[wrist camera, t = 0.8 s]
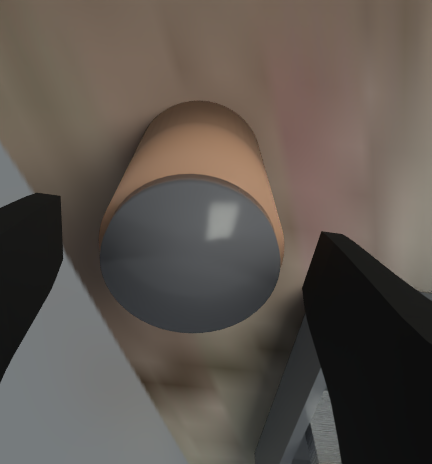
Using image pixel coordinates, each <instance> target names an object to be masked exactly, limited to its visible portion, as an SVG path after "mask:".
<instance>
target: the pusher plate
mask: <svg viewBox="0 0 432 464" xmlns="http://www.w3.org/2000/svg"><path fill="white" fill-rule="evenodd" d="M305 437H306V441H307V446H308V451H309V456H310V461H311V464H342V463H341V457H340V451H339V444H338V438H337V433H336V427H335V422H334V417H333V411H332V406H331V401H330V397H329V393H328V391H326V390H324V392H323V394H322V396H321V399H320V401H319V403H318V405H317V407H316V410H315V412H314V414H313V416H312V418H311V421H310V423H309V425H308V427H307V429H306V432H305Z"/></svg>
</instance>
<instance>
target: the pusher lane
mask: <svg viewBox="0 0 432 464" xmlns="http://www.w3.org/2000/svg"><path fill="white" fill-rule="evenodd" d="M420 293H421V294H423V295H424V296H425V297H427V298H428V299H430V300H431V301H432V293H425V292H420ZM324 390H326V391H328V389H327V386H326V382H325V379H324V376H323V373H322V369H321V366H320V363H319V359H318V356H317V353H316V349H315V346H314V343H313V339H312V336H311V333H310V329H309V326H308V322H307V319H306V313H305V316H304V318H303V321H302V324H301V327H300V329H299V332H298V335H297V338H296V341H295V343H294V346H293V349H292V352H291V354H290V357H289V360H288V363H287V365H286V368H285V371H284V374H283V376H282V379H281V382H280V385H279V387H278V390H277V393H276V396H275V398H274V401H273V404H272V407H271V409H270V412H269V415H268V418H267V420H266V423H265V426H264V429H263V431H262V434H261V437H260V440H259V443H258V445H257V448H256V451H255V464H311V461H310V456H309V451H308V446H307V441H306V437H305V432H306V429H307V427H308V425H309V423H310V421H311V418H312V416H313V414H314V412H315V410H316V407H317V405H318V403H319V401H320V399H321V396H322V394H323V392H324Z"/></svg>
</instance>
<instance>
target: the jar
mask: <svg viewBox="0 0 432 464" xmlns="http://www.w3.org/2000/svg"><path fill="white" fill-rule="evenodd" d="M99 252H100V266H101V271H102V275H103V278H104V280H105V283H106V285H107V287H108V289H109V290H110V292H111V294H112V295H113V296H114V298H115V299H116V300H117V301H118V302H119V303H120V304H121V305H122V306H123V307H124V308H125V309H126V310H127V311H128V312H130V313H131V314H132V315H134V316H135V317H137V318H138V319H140V320H142V321H144V322H146V323H148V324H150V325H153V326H155V327H158V328H161V329H165V330H169V331H174V332H180V333H204V332H212V331H217V330H221V329H224V328H227V327H230V326H233V325H235V324H237V323H239V322H241V321H243V320H245V319H246V318H248V317H250V316H251V315H252V314H253V313H255V312H256V311H257V310H258V309H259V308H260V307H261V306H262V305H263V304H264V303H265V302H266V301H267V299H268V298H269V297H270V295H271V293H272V292H273V290H274V288H275V286H276V283H277V280H278V277H279V272H280V267H281V265H282V260H283V256H284V236H283V231H282V227H281V223H280V220H279V216H278V213H277V209H276V206H275V202H274V198H273V195H272V191H271V188H270V184H269V181H268V177H267V174H266V170H265V166H264V163H263V159H262V156H261V152H260V149H259V145H258V142H257V139H256V137H255V134H254V133H253V131H252V129H251V128H250V126H249V125H248V124H247V123H246V121H245V120H244V119H243V118H241V117H240V116H239V115H238V114H237V113H235V112H234V111H233V110H231V109H229V108H227V107H225V106H222V105H220V104H217V103H213V102H208V101H189V102H184V103H180V104H177V105H174V106H172V107H170V108H168V109H166V110H165V111H163V112H162V113H160V114H159V115H158V116H157V117H156V118H155V119H154V120H153V121H152V122H151V124H150V125H149V126H148V128H147V129H146V131H145V133H144V135H143V137H142V139H141V141H140V143H139V145H138V147H137V149H136V151H135V153H134V155H133V157H132V159H131V161H130V163H129V165H128V167H127V169H126V171H125V173H124V175H123V178H122V180H121V182H120V184H119V186H118V188H117V190H116V192H115V194H114V196H113V198H112V200H111V202H110V204H109V206H108V208H107V210H106V212H105V215H104V217H103V219H102V223H101V226H100V231H99Z"/></svg>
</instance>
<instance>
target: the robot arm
mask: <svg viewBox="0 0 432 464" xmlns="http://www.w3.org/2000/svg"><path fill="white" fill-rule="evenodd" d="M62 261H63V244H62V222H61V199H60V196H57V195H49V194H42V193H35V194H32V195H29V196H26V197H24V198H22V199H19V200H17V201H15V202H12V203H10V204H8V205H6V206H4V207H1V208H0V382H1V380H2V378H3V375H4V373H5V371H6V369H7V367H8V365H9V363H10V361H11V359H12V357H13V355H14V354H15V352H16V350H17V349H18V347H19V345H20V343H21V342H22V340H23V338H24V336H25V335H26V333H27V331H28V329H29V328H30V326H31V324H32V323H33V321H34V319H35V317H36V316H37V314H38V312H39V310H40V309H41V307H42V305H43V303H44V301H45V300H46V298H47V296H48V294H49V293H50V291H51V289H52V286H53V284H54V281H55V279H56V277H57V274H58V271H59V268H60V266H61V263H62ZM302 291H303V299H304V306H305V313H306V319H307V322H308V326H309V329H310V333H311V336H312V339H313V343H314V346H315V349H316V353H317V356H318V359H319V363H320V366H321V369H322V373H323V376H324V379H325V382H326V386H327V389H328V393H329V397H330V401H331V406H332V411H333V417H334V422H335V427H336V433H337V438H338V444H339V451H340V457H341V463H342V464H432V301H431V300H430V299H428V298H427V297H425V296H424V295H423V294H421V293H420V292H418V291H417V290H416V289H414V288H413V287H411V286H410V285H409V284H407V283H406V282H405V281H403V280H402V279H401V278H399V277H398V276H397V275H395V274H394V273H393V272H392V271H390V270H389V269H388V268H387V267H385V266H384V265H383V264H381V263H380V262H379V261H378V260H376V259H375V258H374V257H373V256H371V255H370V254H369V253H368V252H366V251H365V250H364V249H363V248H361V247H360V246H359V245H357V244H356V243H355V242H353V241H352V240H351V239H349V238H348V237H346V236H345V235H343V234H337V233H330V232H323V231H322V232H321V234H320V237H319V240H318V243H317V246H316V249H315V252H314V255H313V258H312V261H311V264H310V267H309V270H308V272H307V275H306V278H305V281H304V284H303V287H302Z"/></svg>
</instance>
